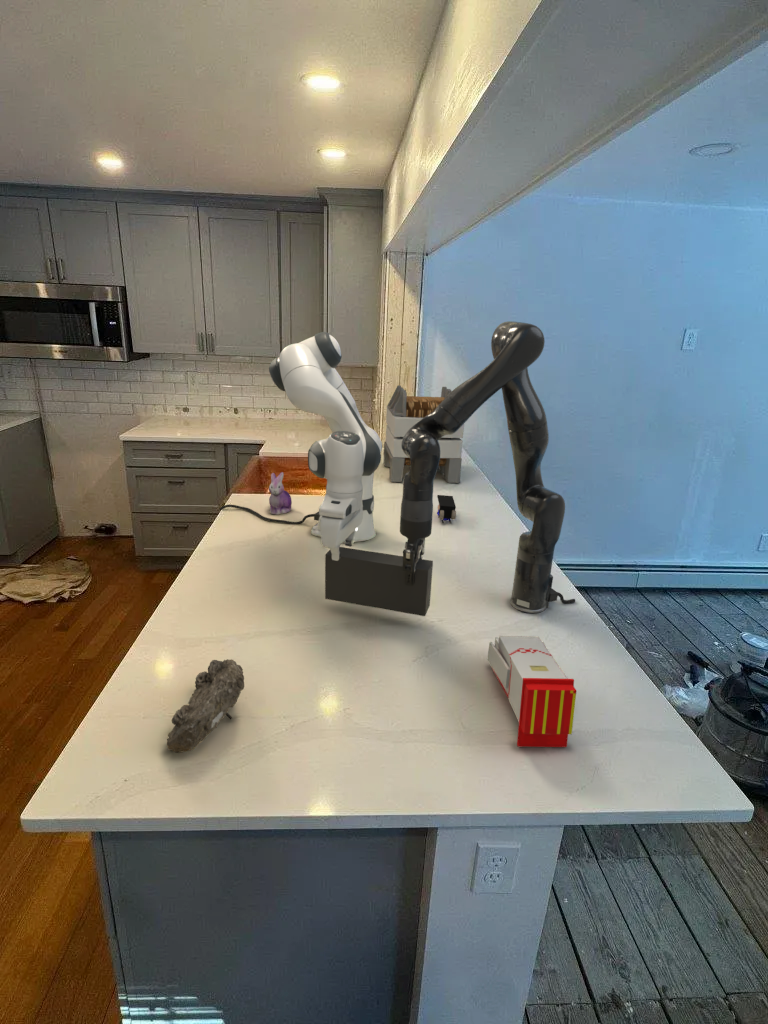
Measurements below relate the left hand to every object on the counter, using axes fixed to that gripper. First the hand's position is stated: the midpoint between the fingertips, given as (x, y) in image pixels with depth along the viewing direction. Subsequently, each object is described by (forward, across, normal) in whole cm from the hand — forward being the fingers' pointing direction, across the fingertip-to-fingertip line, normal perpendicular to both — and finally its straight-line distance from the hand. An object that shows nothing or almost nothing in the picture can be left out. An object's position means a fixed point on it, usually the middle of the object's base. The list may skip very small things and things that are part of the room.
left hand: (342, 552), depth 142 cm
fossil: (+17, +46, -9) cm, 50 cm away
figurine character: (+17, -79, +13) cm, 82 cm away
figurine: (+17, -63, -48) cm, 81 cm away
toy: (+17, +21, +47) cm, 54 cm away
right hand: (+4, 0, +18) cm, 19 cm away
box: (+12, 0, +9) cm, 16 cm away
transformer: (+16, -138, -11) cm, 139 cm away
